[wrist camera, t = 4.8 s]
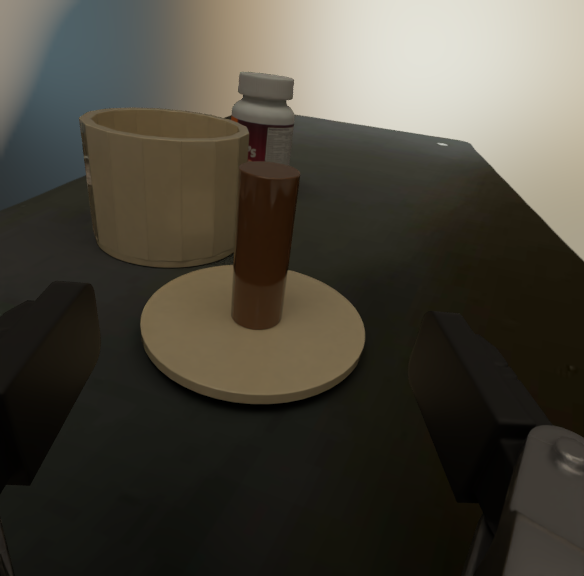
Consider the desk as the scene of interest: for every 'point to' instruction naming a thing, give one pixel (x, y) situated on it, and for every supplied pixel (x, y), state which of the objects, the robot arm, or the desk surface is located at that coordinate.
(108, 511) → the desk surface
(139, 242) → the canister
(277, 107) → the pill bottle
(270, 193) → the lid
